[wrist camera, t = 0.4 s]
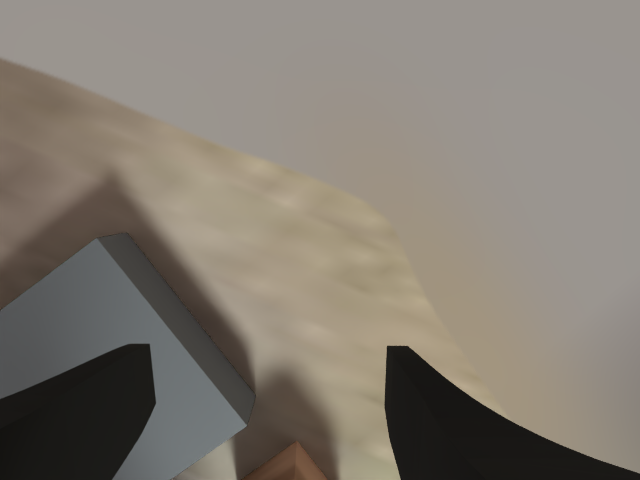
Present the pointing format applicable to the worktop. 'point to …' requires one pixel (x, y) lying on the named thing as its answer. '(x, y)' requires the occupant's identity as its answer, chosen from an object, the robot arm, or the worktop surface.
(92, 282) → the charcoal stand
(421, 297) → the worktop surface
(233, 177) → the worktop surface
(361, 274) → the worktop surface
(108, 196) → the worktop surface
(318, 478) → the terracotta block
